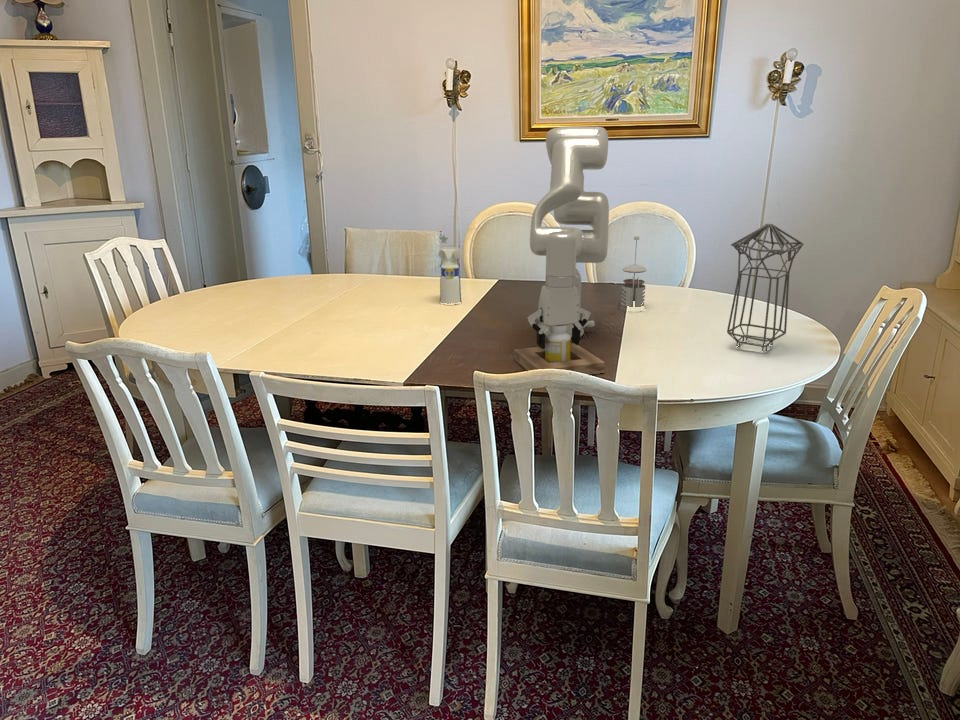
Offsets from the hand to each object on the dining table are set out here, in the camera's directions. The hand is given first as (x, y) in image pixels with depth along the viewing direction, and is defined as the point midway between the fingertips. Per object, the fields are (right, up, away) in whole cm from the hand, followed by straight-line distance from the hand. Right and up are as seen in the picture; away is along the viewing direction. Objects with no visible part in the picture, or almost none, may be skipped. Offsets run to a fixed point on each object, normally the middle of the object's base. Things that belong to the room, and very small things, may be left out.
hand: (558, 345), depth 188 cm
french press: (+32, +13, +59) cm, 68 cm away
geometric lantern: (+57, -1, +16) cm, 59 cm away
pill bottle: (0, -6, +2) cm, 6 cm away
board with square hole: (0, -5, +2) cm, 6 cm away
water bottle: (-31, +16, +69) cm, 78 cm away
